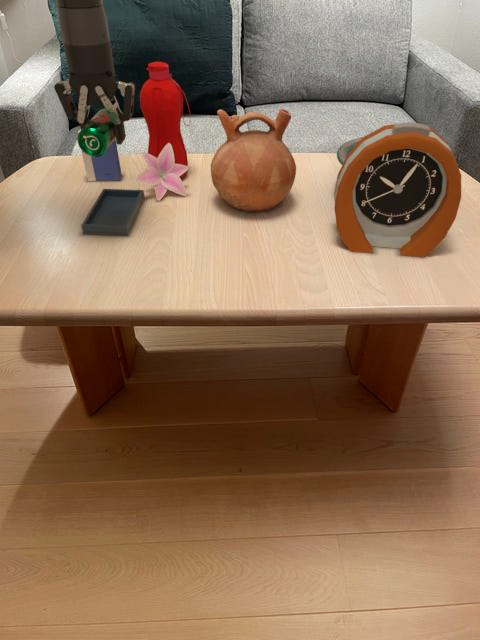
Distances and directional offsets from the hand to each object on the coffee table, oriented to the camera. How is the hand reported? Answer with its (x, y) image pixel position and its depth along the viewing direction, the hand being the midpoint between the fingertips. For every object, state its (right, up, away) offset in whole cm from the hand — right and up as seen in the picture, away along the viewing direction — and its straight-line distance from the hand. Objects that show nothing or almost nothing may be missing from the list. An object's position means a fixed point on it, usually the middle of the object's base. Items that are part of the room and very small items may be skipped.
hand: (105, 142), depth 87 cm
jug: (+28, -6, +19) cm, 35 cm away
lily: (+8, -3, +22) cm, 24 cm away
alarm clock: (+54, -17, +7) cm, 58 cm away
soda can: (0, -3, -7) cm, 8 cm away
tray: (-2, -11, +14) cm, 18 cm away
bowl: (+59, -5, +21) cm, 63 cm away
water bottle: (+8, +3, +30) cm, 31 cm away
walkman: (-8, +1, +28) cm, 29 cm away
